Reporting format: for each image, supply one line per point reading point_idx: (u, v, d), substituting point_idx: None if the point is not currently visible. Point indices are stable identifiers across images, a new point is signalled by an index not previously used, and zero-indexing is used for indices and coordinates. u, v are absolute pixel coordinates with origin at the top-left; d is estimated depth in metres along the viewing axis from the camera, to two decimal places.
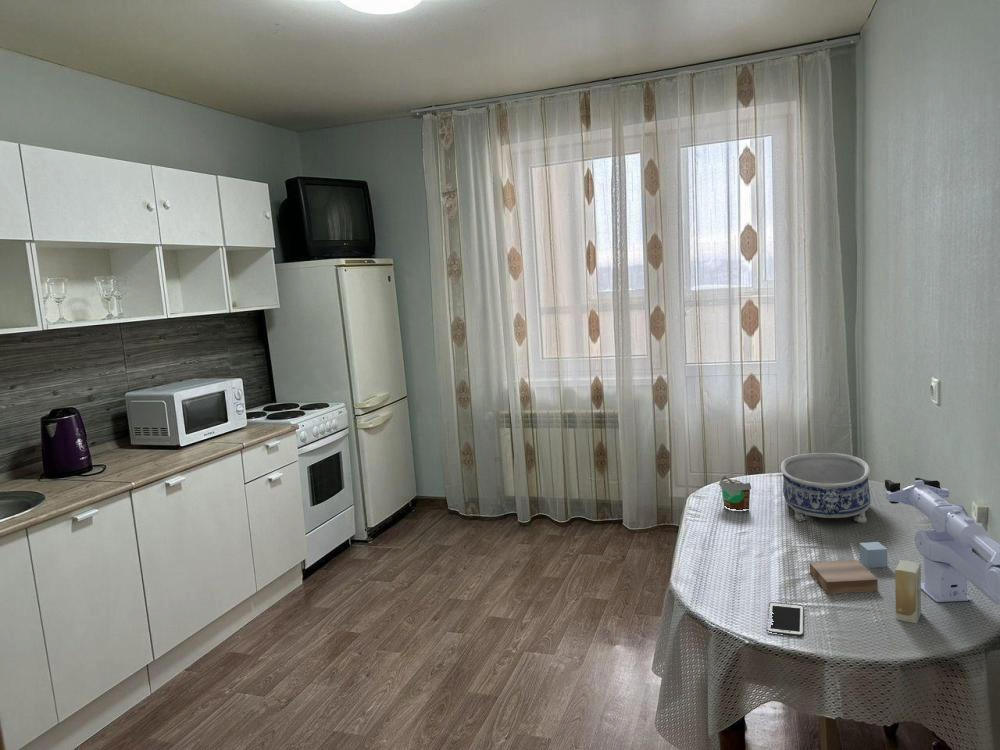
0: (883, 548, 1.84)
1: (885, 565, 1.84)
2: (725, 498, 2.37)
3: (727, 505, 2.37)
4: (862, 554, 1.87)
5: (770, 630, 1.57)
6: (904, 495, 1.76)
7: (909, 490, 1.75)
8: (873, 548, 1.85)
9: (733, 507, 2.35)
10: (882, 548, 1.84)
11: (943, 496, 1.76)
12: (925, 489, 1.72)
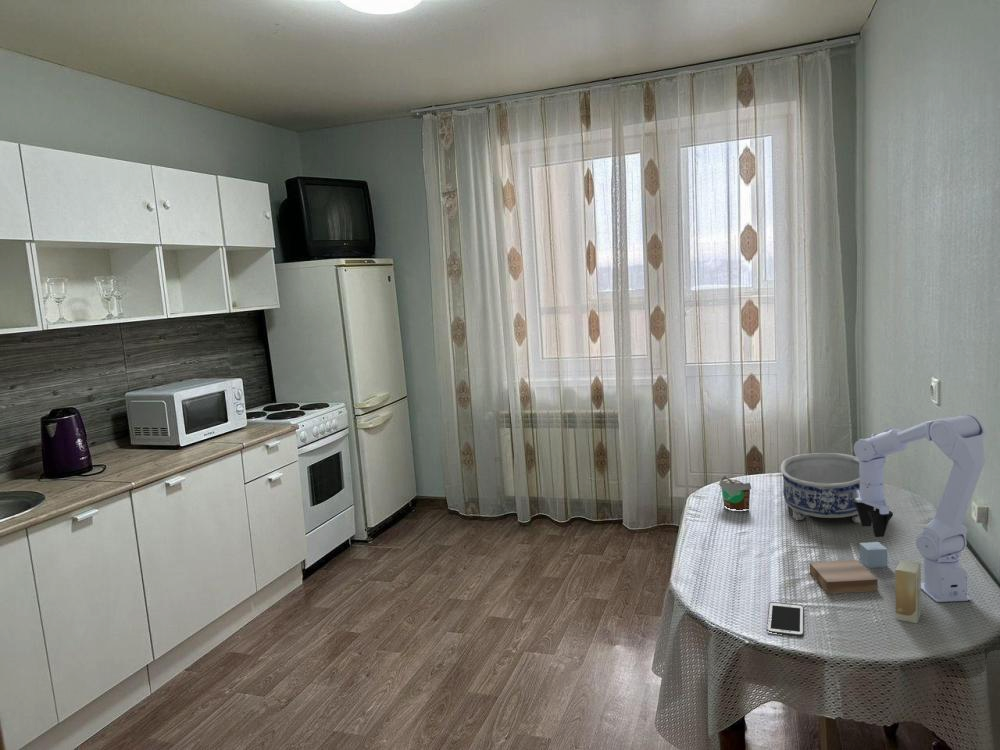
0: (883, 548, 1.84)
1: (885, 565, 1.84)
2: (725, 498, 2.37)
3: (727, 505, 2.37)
4: (862, 554, 1.87)
5: (770, 630, 1.57)
6: (877, 503, 1.81)
7: (869, 501, 1.82)
8: (873, 548, 1.85)
9: (733, 507, 2.35)
10: (882, 548, 1.84)
11: None
12: (860, 489, 1.85)
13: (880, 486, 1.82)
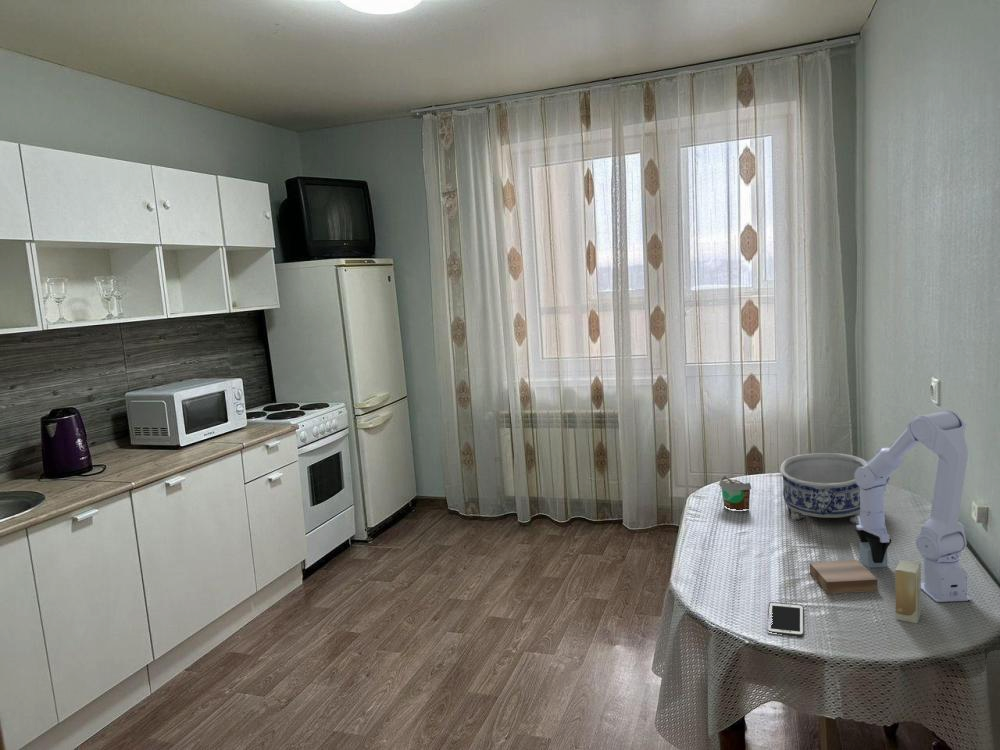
0: None
1: (885, 565, 1.84)
2: (725, 498, 2.37)
3: (727, 505, 2.37)
4: (862, 553, 1.87)
5: (770, 630, 1.57)
6: (877, 531, 1.82)
7: (870, 529, 1.83)
8: None
9: (733, 507, 2.35)
10: None
11: None
12: (861, 516, 1.86)
13: (880, 514, 1.83)
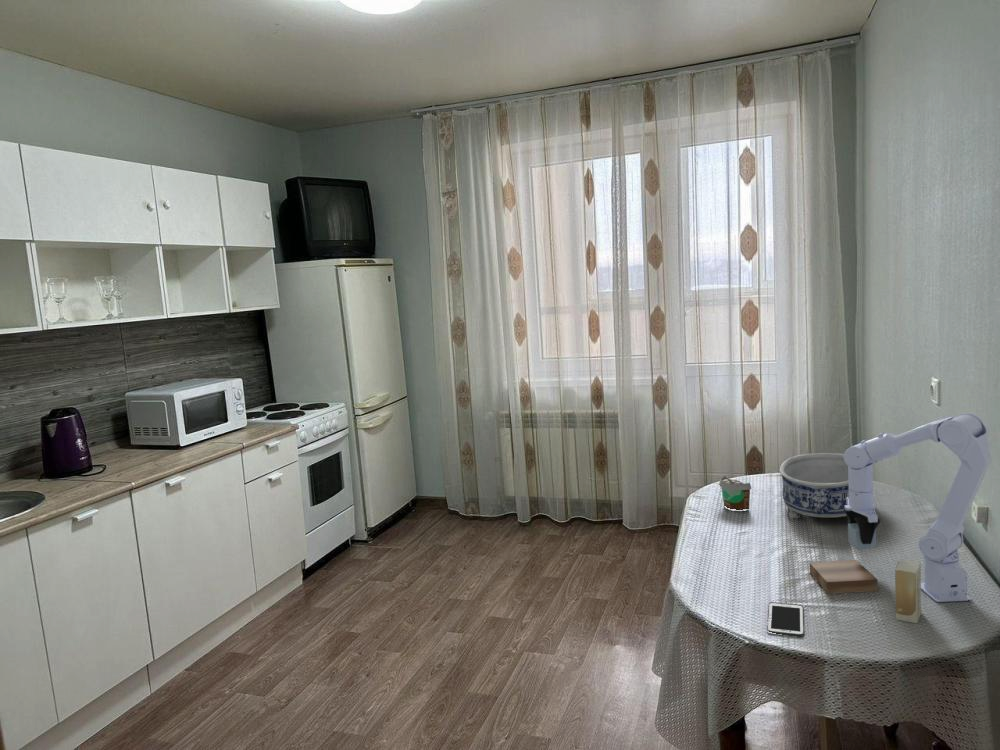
0: None
1: (874, 546, 1.80)
2: (725, 498, 2.37)
3: (727, 505, 2.37)
4: (851, 534, 1.83)
5: (771, 630, 1.57)
6: (866, 511, 1.78)
7: (858, 509, 1.79)
8: None
9: (733, 507, 2.35)
10: None
11: None
12: (849, 496, 1.82)
13: (869, 494, 1.78)
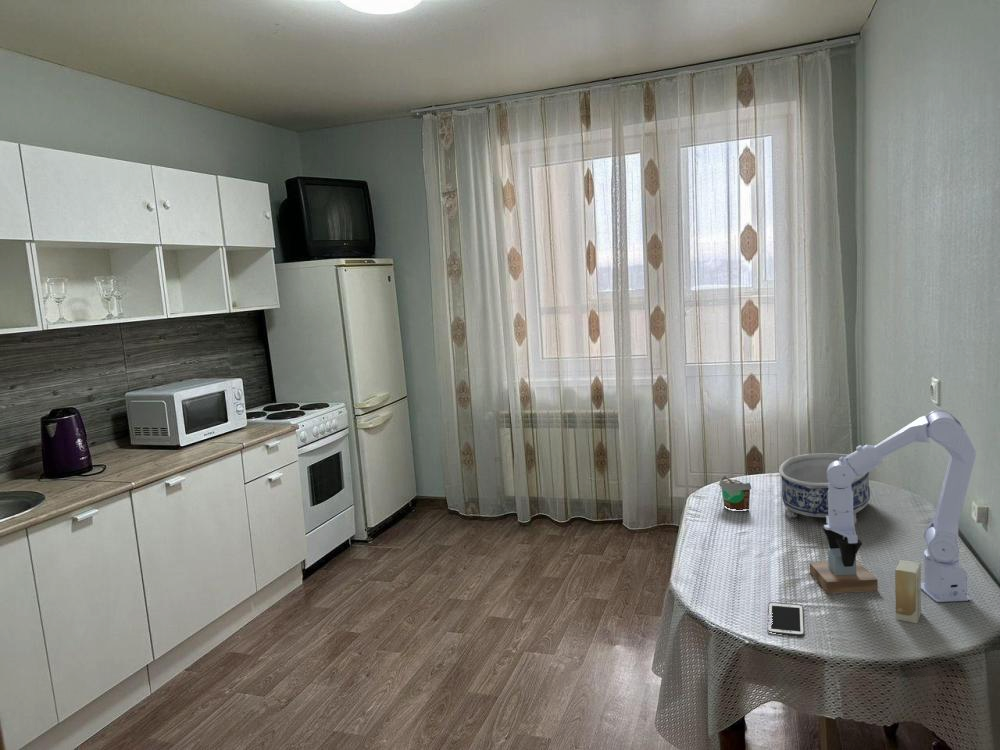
0: None
1: (854, 572, 1.75)
2: (725, 498, 2.37)
3: (727, 505, 2.37)
4: (831, 560, 1.78)
5: (771, 630, 1.57)
6: (845, 531, 1.73)
7: (838, 529, 1.74)
8: None
9: (733, 507, 2.35)
10: None
11: None
12: (829, 516, 1.76)
13: (849, 513, 1.73)
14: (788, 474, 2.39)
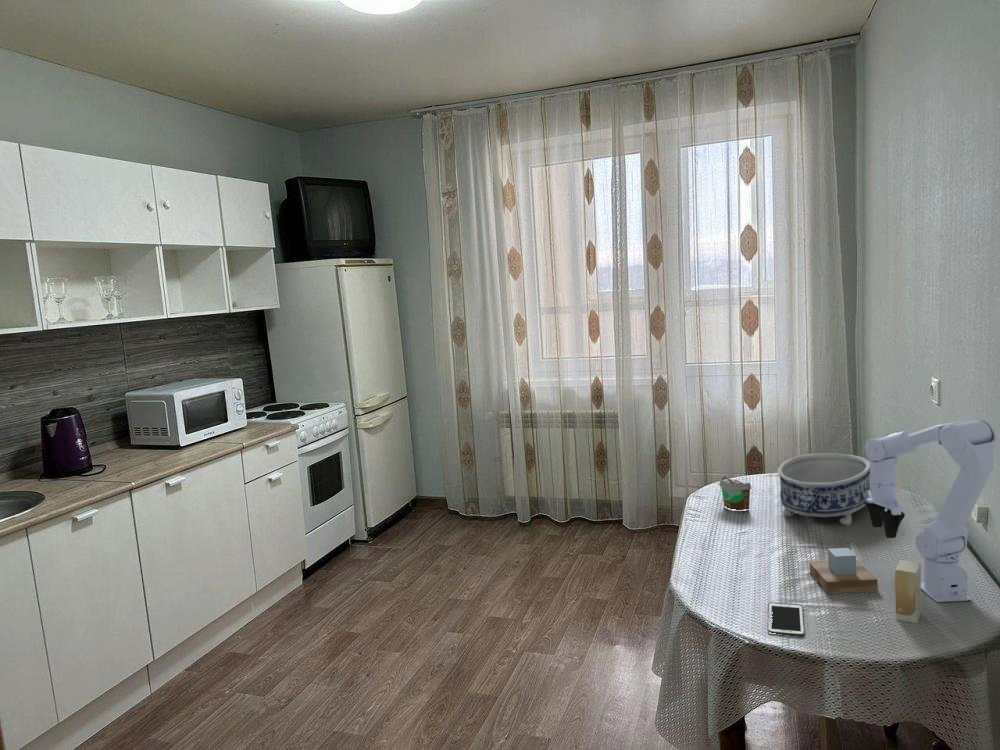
0: (852, 554, 1.75)
1: (854, 572, 1.75)
2: (725, 498, 2.37)
3: (727, 505, 2.37)
4: (831, 560, 1.78)
5: (771, 630, 1.57)
6: (888, 503, 1.79)
7: (881, 501, 1.80)
8: (841, 555, 1.76)
9: (733, 507, 2.35)
10: (851, 555, 1.75)
11: None
12: (871, 489, 1.82)
13: (892, 486, 1.79)
14: (790, 473, 2.39)
